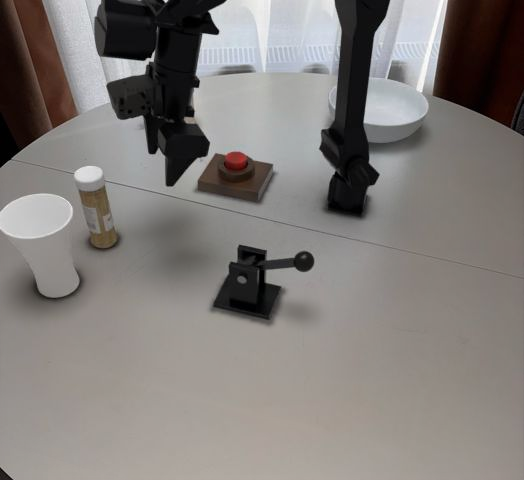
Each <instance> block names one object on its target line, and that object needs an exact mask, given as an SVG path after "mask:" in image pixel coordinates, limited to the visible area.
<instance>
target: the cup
mask: <svg viewBox="0 0 524 480" xmlns="http://www.w3.org/2000/svg"><path fill="white" fill-rule="evenodd" d="M73 217H74V208H73V206H72V204H71V203H70V202H69V201H68V200H67V199H65V198H64V197H62V196H59V195H58V194H52V193H35V194H28V195H24V196H22V197H19V198H17V199H14V200H12V201H11V202H9V203H8V204H6V205H5V206H4V208H2V210H1V211H0V231H1V232H2V234H4V236H5V237H6V238H7V239H8V241H10V242H11V244H13V246H14V247H15V248H16V249H17V250H18V251H19V252H20V254H21V255H22V256H23V257H24V259H25V260H26V262H27V264H28V265H29V267H30V268H31V271H32V273H33V275H34V278H35V282H36V287H37V290H38V292H39V293H40V294H41V295H42V296H45V297H46V298H55V299H56V298H63V297H66V296H68V295H70V294H72V293H73V292H75V290H76V289H78V287H79V284H80V276H79V275H78V272H77V270H76V268H75V265H74V261H73V255H72V245H71V243H72V230H73V219H74V218H73Z"/></svg>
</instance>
